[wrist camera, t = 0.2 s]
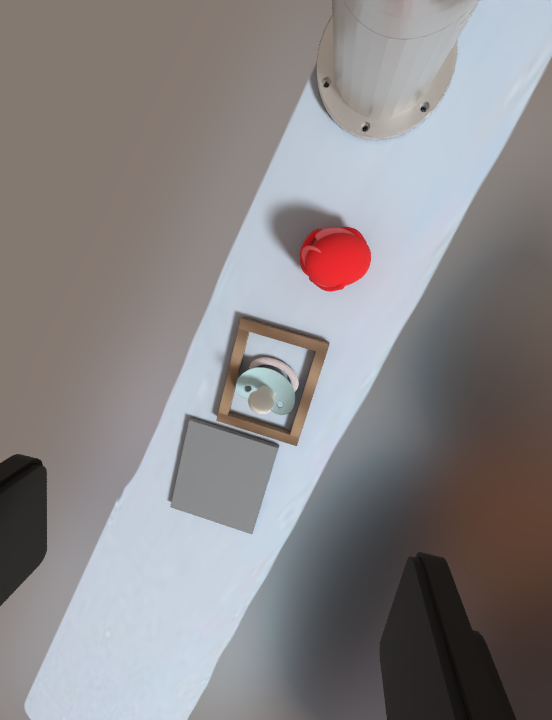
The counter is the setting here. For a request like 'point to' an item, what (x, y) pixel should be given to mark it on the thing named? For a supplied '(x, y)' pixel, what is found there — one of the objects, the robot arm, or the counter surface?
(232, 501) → the slate mat
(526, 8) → the counter surface
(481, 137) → the counter surface
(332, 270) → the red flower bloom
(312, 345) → the pocket frame
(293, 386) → the pacifier
